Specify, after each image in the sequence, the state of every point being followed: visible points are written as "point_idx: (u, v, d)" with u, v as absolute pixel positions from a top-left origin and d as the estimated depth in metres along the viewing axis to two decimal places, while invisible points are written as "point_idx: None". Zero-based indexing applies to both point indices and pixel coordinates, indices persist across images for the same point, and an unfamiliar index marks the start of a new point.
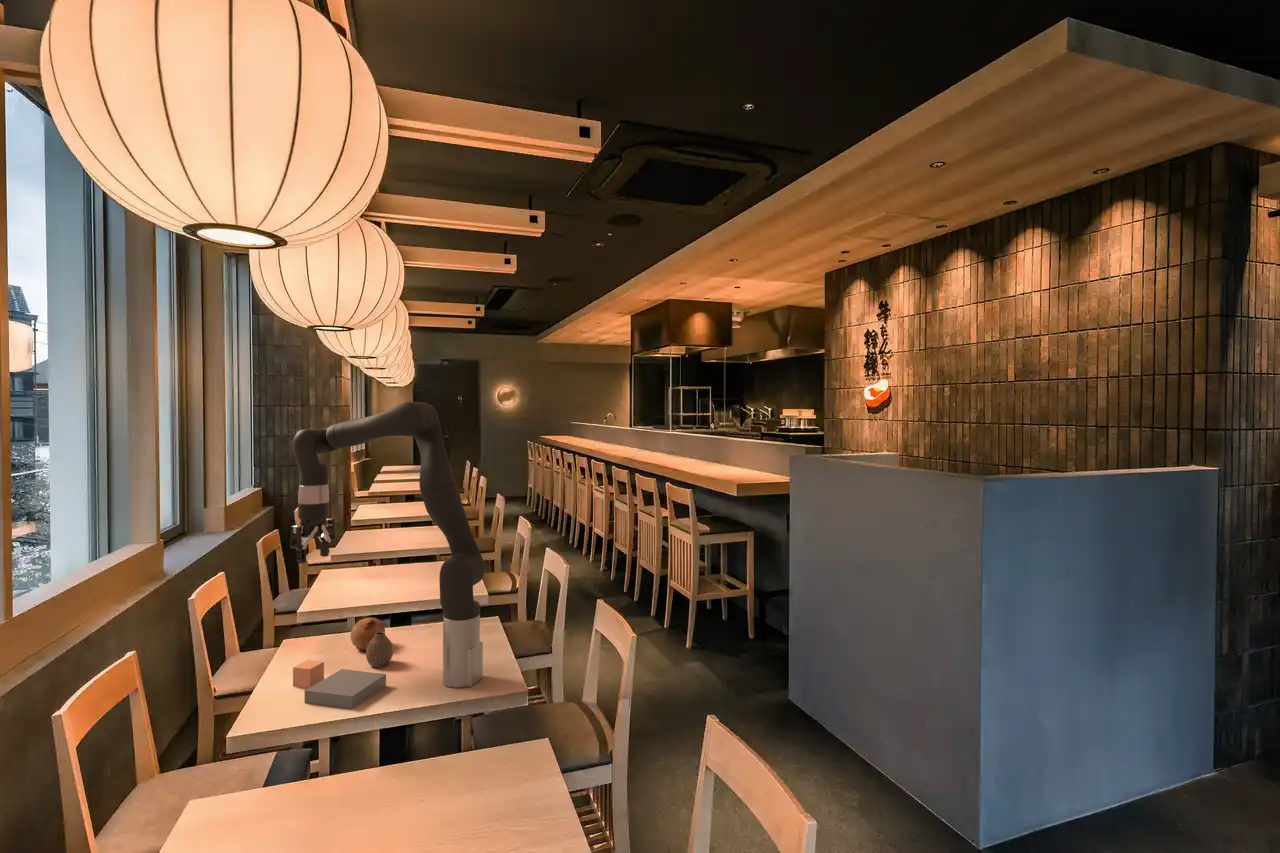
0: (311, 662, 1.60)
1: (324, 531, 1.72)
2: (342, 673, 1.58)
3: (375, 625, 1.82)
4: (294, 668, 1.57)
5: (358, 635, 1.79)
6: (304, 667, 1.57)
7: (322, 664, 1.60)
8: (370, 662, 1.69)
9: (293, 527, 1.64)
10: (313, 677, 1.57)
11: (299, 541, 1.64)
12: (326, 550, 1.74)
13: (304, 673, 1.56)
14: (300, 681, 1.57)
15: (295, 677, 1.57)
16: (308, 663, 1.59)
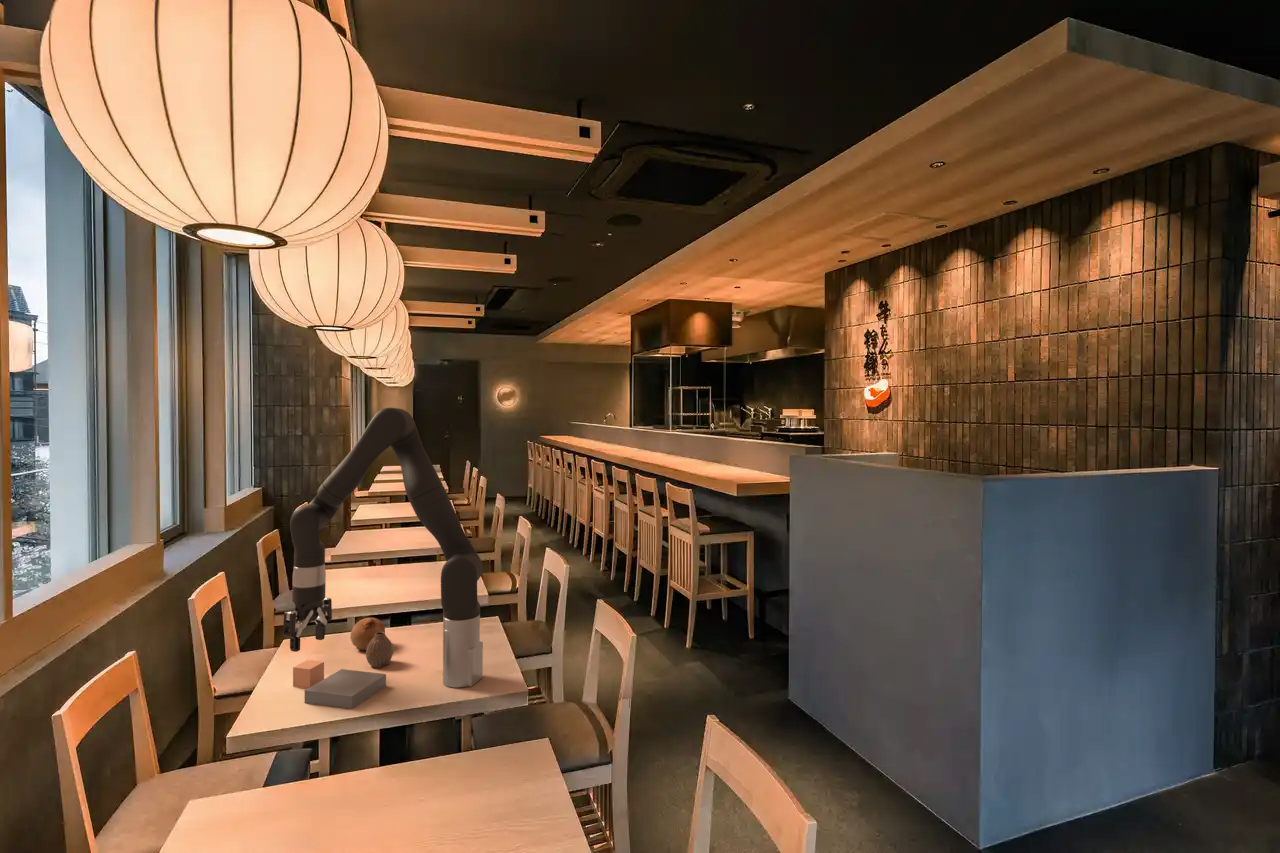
0: (311, 662, 1.60)
1: (320, 614, 1.61)
2: (342, 673, 1.58)
3: (375, 625, 1.82)
4: (294, 668, 1.57)
5: (358, 635, 1.79)
6: (304, 667, 1.57)
7: (322, 664, 1.60)
8: (370, 662, 1.69)
9: (286, 614, 1.52)
10: (313, 677, 1.57)
11: (293, 629, 1.52)
12: (322, 633, 1.63)
13: (304, 673, 1.56)
14: (300, 681, 1.57)
15: (295, 677, 1.57)
16: (308, 663, 1.59)
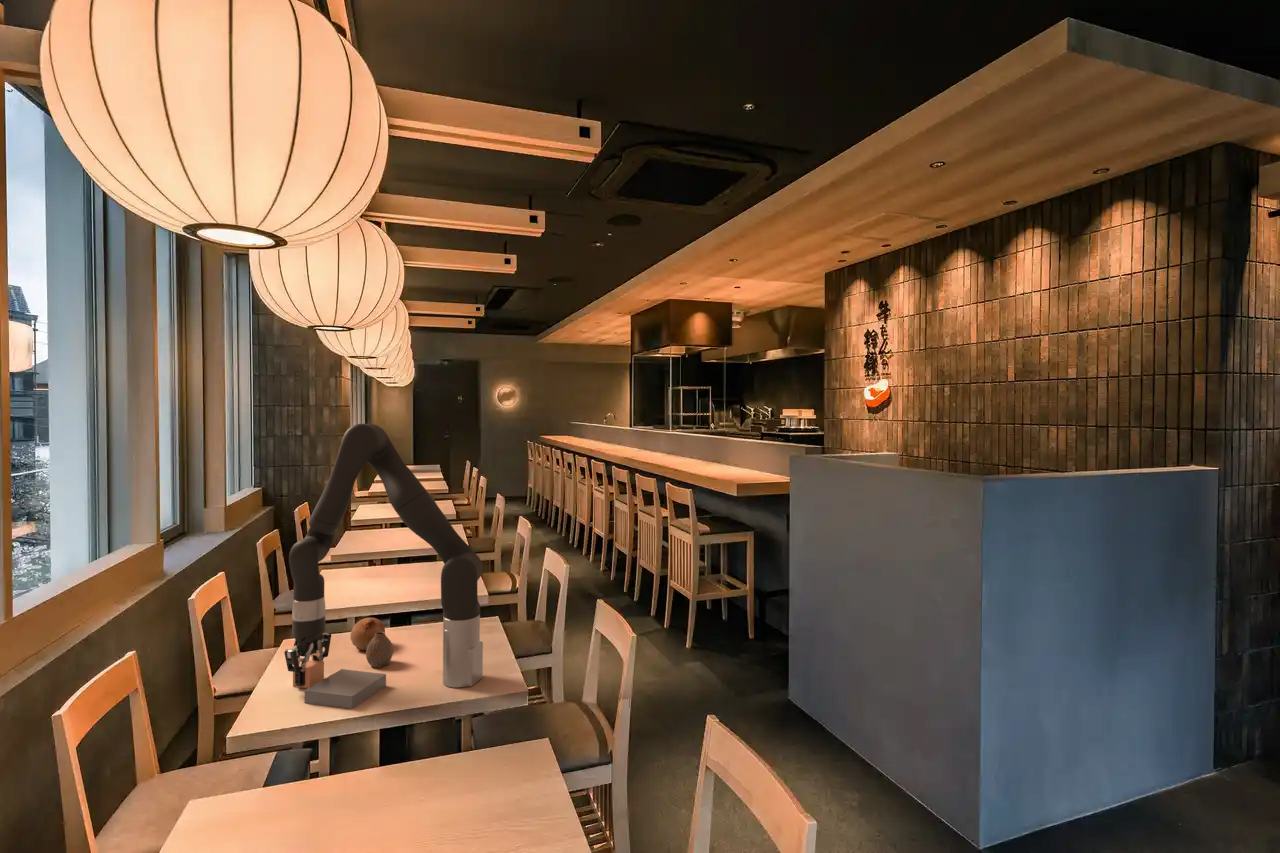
0: (311, 662, 1.60)
1: (319, 648, 1.60)
2: (342, 673, 1.58)
3: (375, 625, 1.82)
4: None
5: (358, 635, 1.79)
6: None
7: (322, 664, 1.60)
8: (370, 662, 1.69)
9: (287, 652, 1.52)
10: (313, 677, 1.57)
11: (296, 665, 1.53)
12: None
13: None
14: None
15: None
16: (308, 663, 1.59)
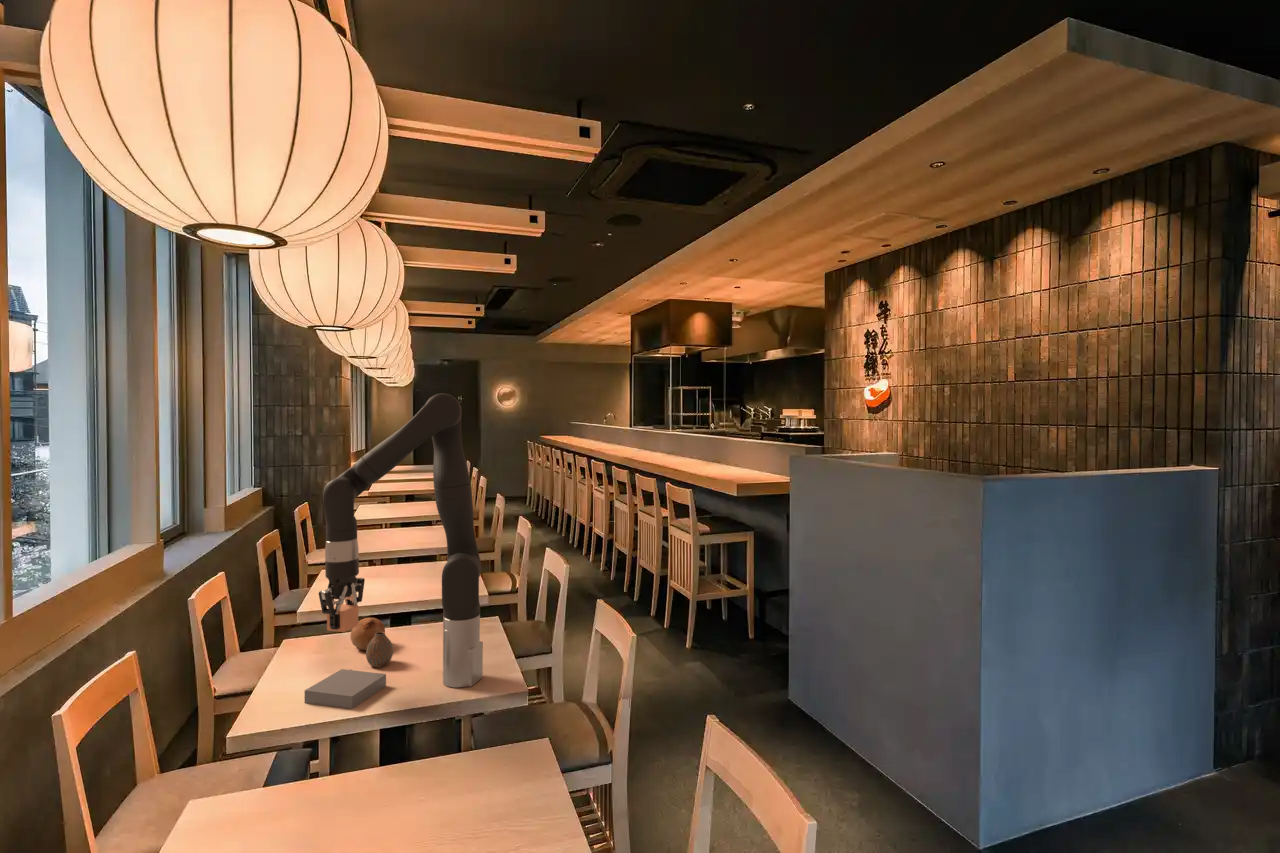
0: (345, 606, 1.55)
1: (353, 591, 1.55)
2: (342, 673, 1.58)
3: (375, 625, 1.82)
4: None
5: (358, 635, 1.79)
6: None
7: (356, 608, 1.55)
8: (370, 662, 1.69)
9: (321, 594, 1.48)
10: (347, 620, 1.52)
11: (331, 607, 1.48)
12: None
13: None
14: None
15: (329, 620, 1.52)
16: (342, 607, 1.54)
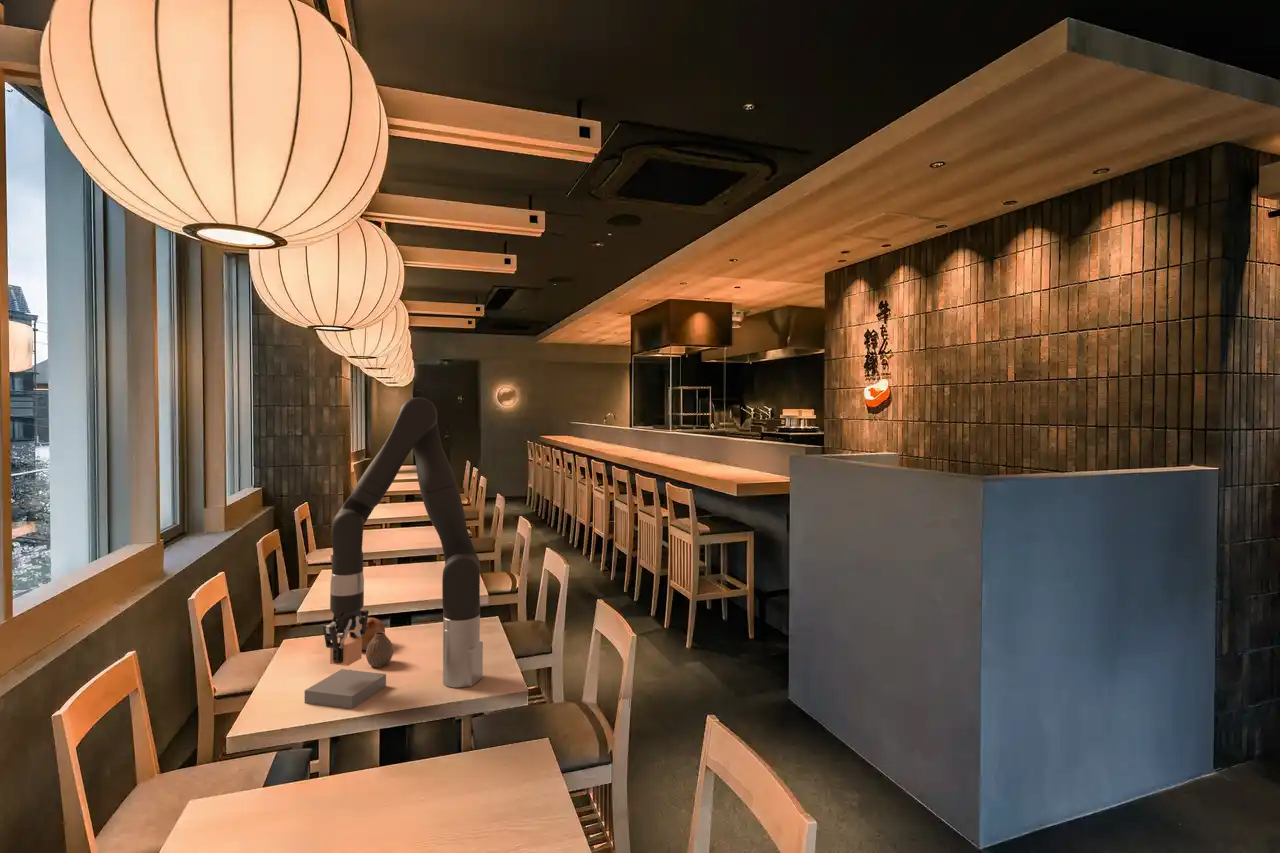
0: (348, 639, 1.54)
1: (357, 624, 1.54)
2: (342, 673, 1.58)
3: (375, 625, 1.82)
4: None
5: None
6: None
7: (360, 641, 1.54)
8: (370, 662, 1.69)
9: (325, 628, 1.47)
10: (351, 654, 1.51)
11: (335, 641, 1.47)
12: None
13: None
14: None
15: (332, 654, 1.51)
16: (345, 640, 1.53)
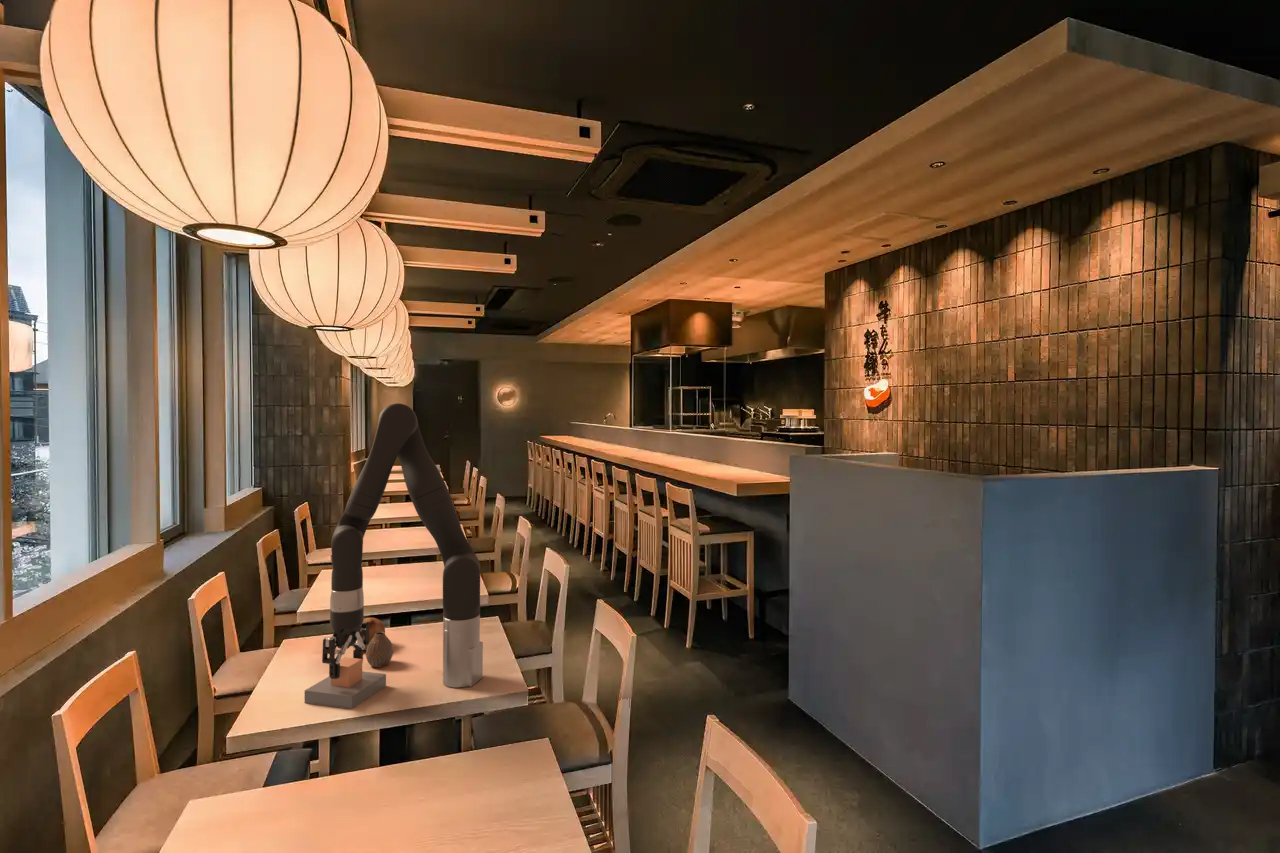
0: (349, 659, 1.54)
1: (358, 638, 1.55)
2: None
3: (375, 625, 1.82)
4: None
5: None
6: (343, 665, 1.51)
7: (360, 662, 1.54)
8: (370, 662, 1.69)
9: (325, 640, 1.46)
10: (351, 675, 1.51)
11: (332, 656, 1.46)
12: (360, 658, 1.57)
13: (342, 670, 1.50)
14: (339, 679, 1.51)
15: None
16: (346, 661, 1.54)
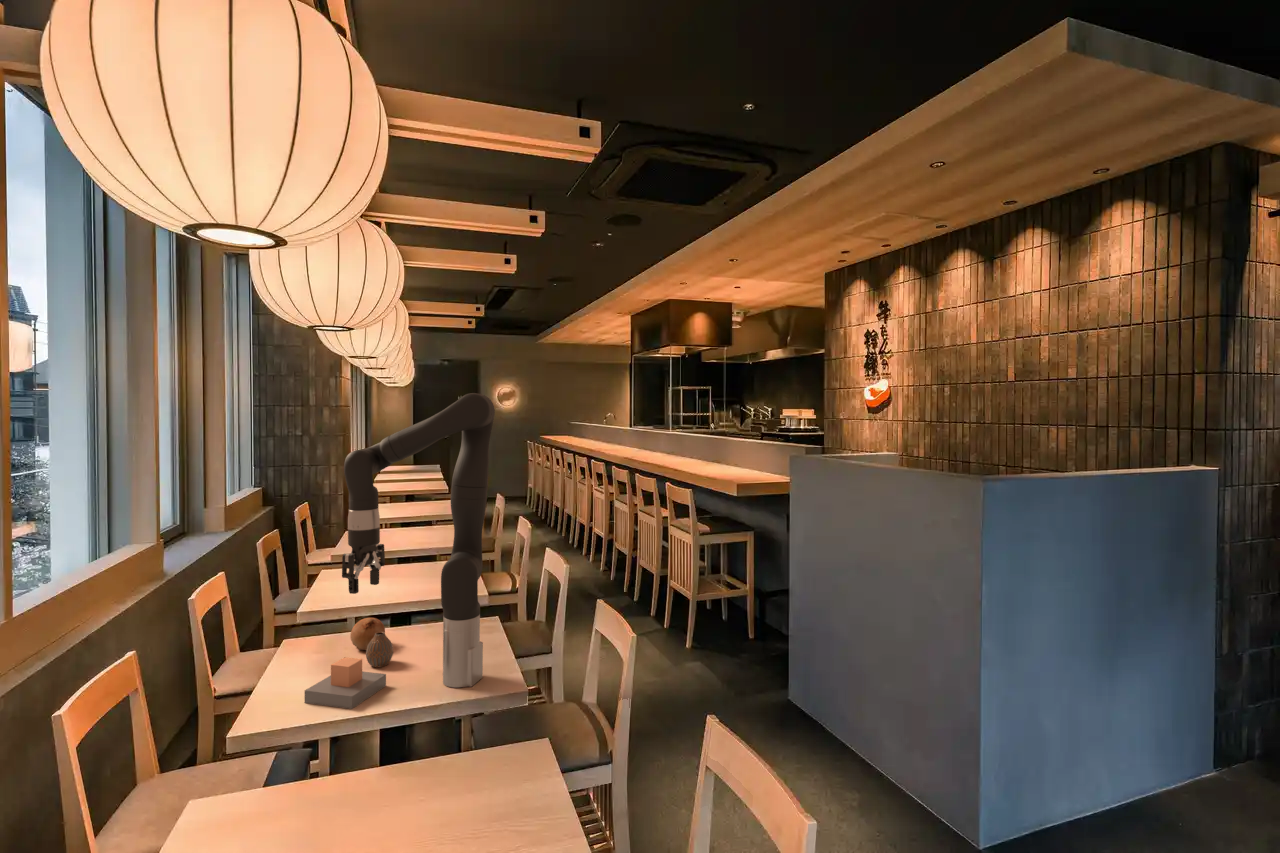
0: (349, 659, 1.54)
1: (375, 558, 1.62)
2: None
3: (375, 625, 1.82)
4: (332, 666, 1.51)
5: (358, 635, 1.79)
6: (343, 665, 1.51)
7: (360, 662, 1.54)
8: (370, 662, 1.69)
9: (345, 555, 1.53)
10: (351, 675, 1.51)
11: (352, 570, 1.53)
12: (376, 578, 1.64)
13: (342, 670, 1.50)
14: (339, 679, 1.51)
15: (333, 675, 1.51)
16: (346, 661, 1.54)
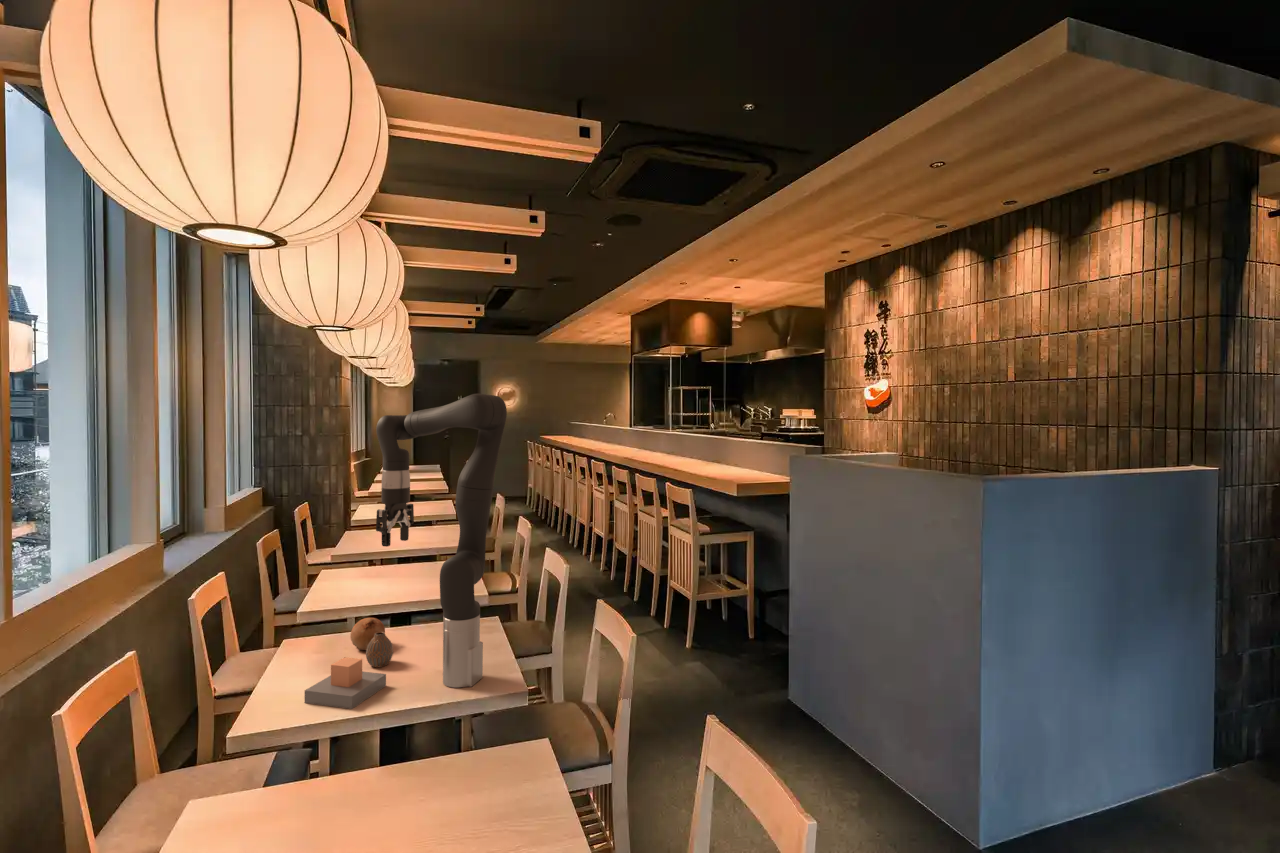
0: (349, 659, 1.54)
1: (405, 515, 1.76)
2: None
3: (375, 625, 1.82)
4: (332, 666, 1.51)
5: (358, 635, 1.79)
6: (343, 665, 1.51)
7: (360, 662, 1.54)
8: (370, 662, 1.69)
9: (379, 511, 1.68)
10: (351, 675, 1.51)
11: (385, 524, 1.68)
12: (406, 534, 1.78)
13: (342, 670, 1.50)
14: (339, 679, 1.51)
15: (333, 675, 1.51)
16: (346, 661, 1.54)
